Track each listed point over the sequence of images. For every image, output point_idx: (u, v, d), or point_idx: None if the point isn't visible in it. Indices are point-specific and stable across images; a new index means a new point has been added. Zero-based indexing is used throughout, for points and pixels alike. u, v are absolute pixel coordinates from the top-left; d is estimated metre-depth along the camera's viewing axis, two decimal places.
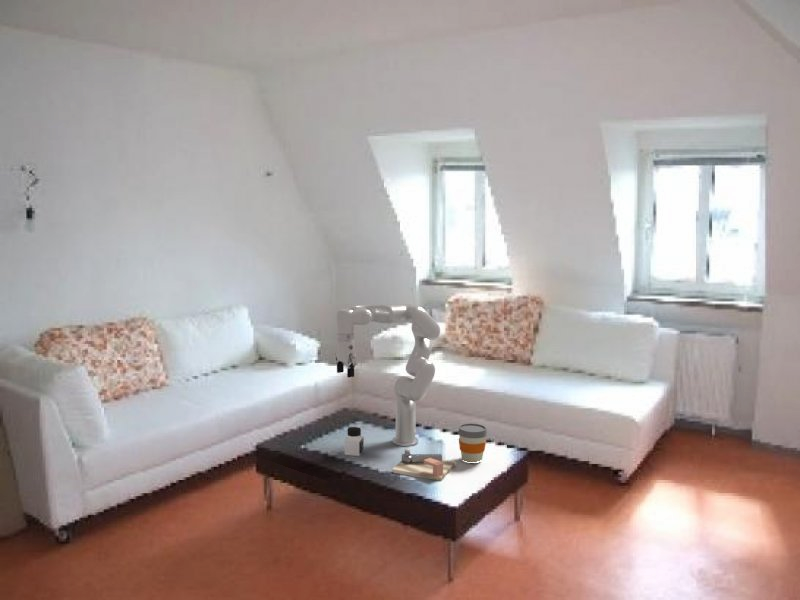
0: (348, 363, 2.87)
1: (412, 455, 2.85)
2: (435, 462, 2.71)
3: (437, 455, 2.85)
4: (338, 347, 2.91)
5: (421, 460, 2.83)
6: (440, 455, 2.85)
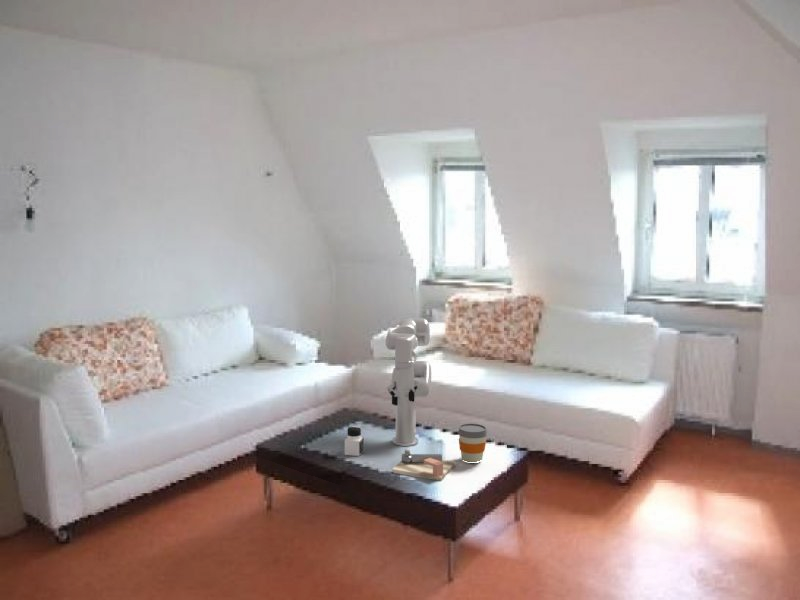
0: (413, 388, 2.91)
1: (412, 455, 2.85)
2: (435, 462, 2.71)
3: (437, 455, 2.85)
4: (403, 377, 2.85)
5: (421, 460, 2.83)
6: (440, 455, 2.85)
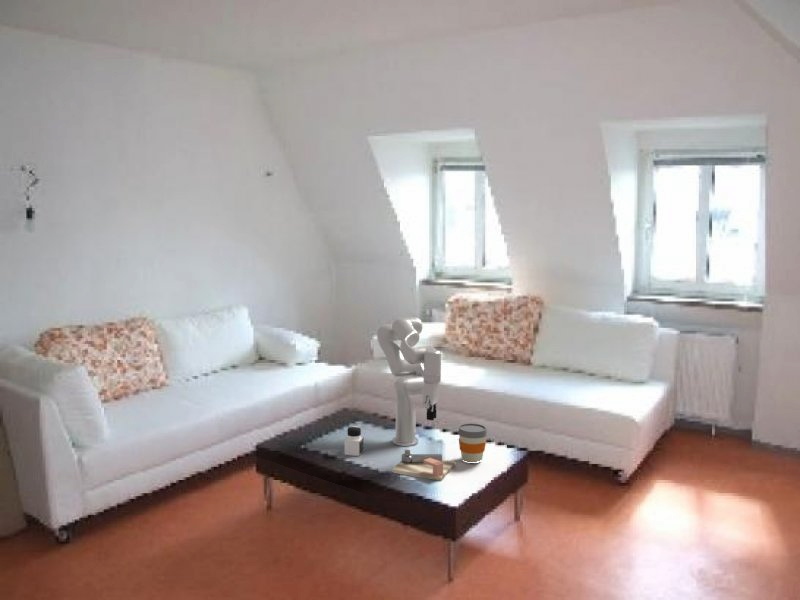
0: (436, 403, 2.90)
1: (412, 455, 2.85)
2: (435, 462, 2.71)
3: (437, 455, 2.85)
4: (435, 390, 2.85)
5: (421, 460, 2.83)
6: (440, 455, 2.85)
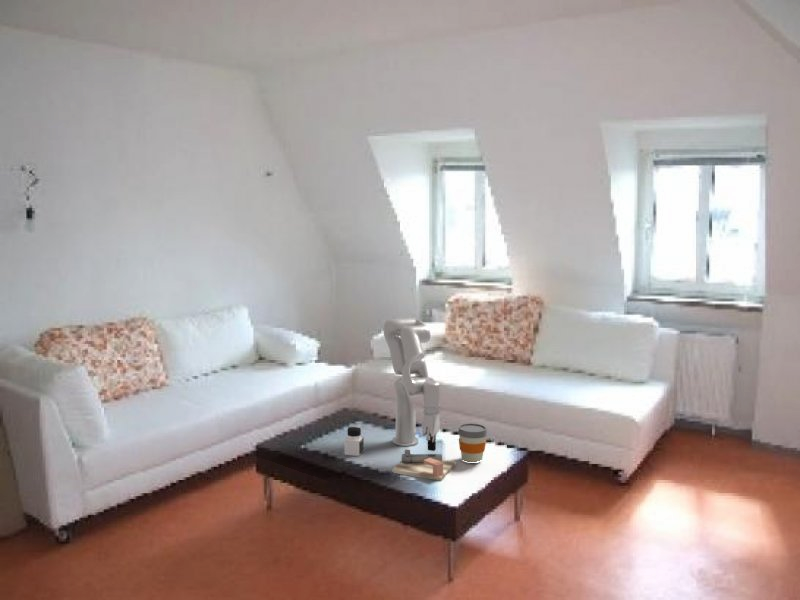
0: (435, 435, 2.91)
1: (412, 455, 2.85)
2: (435, 462, 2.71)
3: (437, 455, 2.85)
4: (435, 422, 2.86)
5: (421, 460, 2.83)
6: (440, 455, 2.85)
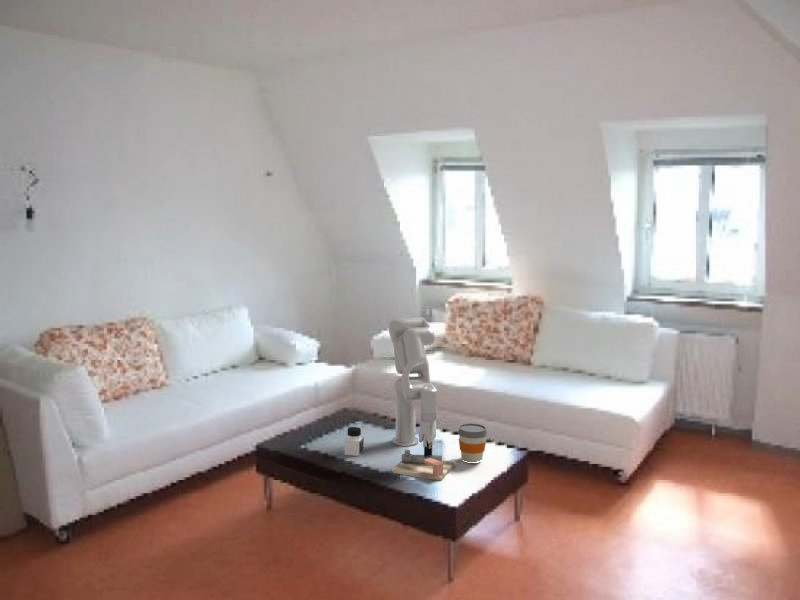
0: (432, 441, 2.88)
1: (412, 455, 2.84)
2: (435, 462, 2.71)
3: (437, 456, 2.83)
4: (432, 428, 2.83)
5: (421, 461, 2.83)
6: (440, 456, 2.83)
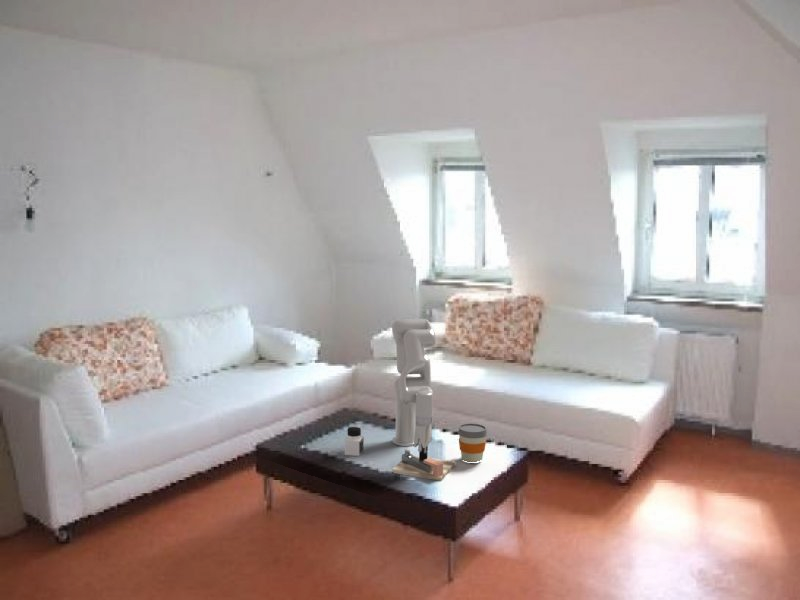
0: (427, 446, 2.82)
1: (411, 456, 2.83)
2: (435, 462, 2.71)
3: None
4: (427, 433, 2.77)
5: (414, 464, 2.79)
6: None
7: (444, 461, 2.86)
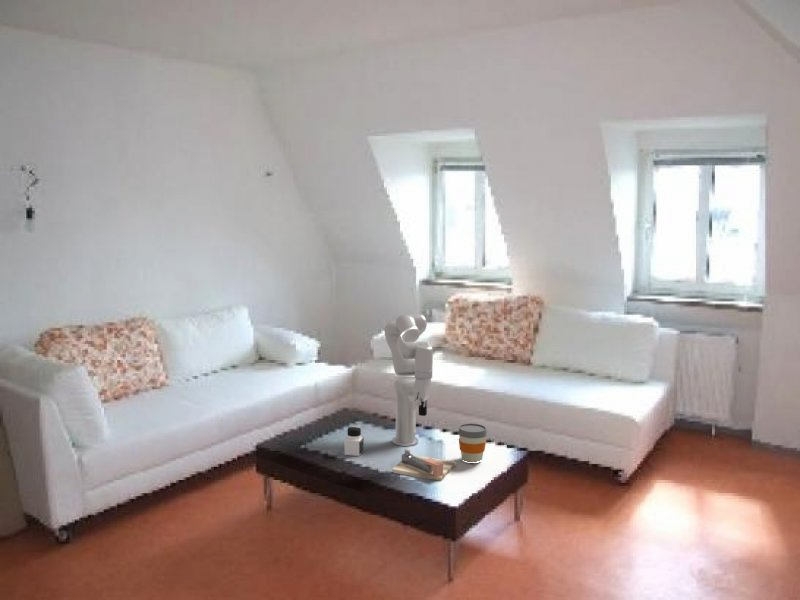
0: None
1: (411, 456, 2.83)
2: (435, 462, 2.71)
3: None
4: (427, 386, 2.80)
5: (414, 464, 2.79)
6: None
7: (444, 461, 2.86)
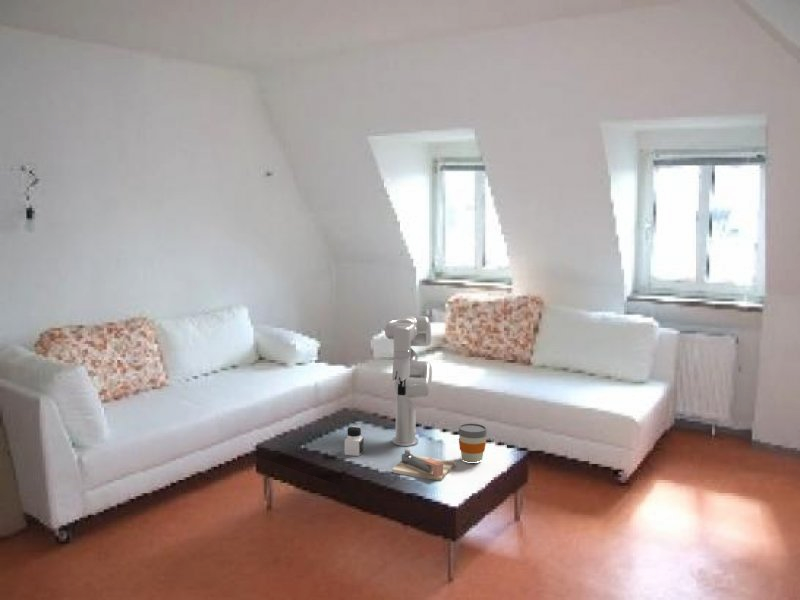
0: (406, 380, 2.91)
1: (411, 456, 2.83)
2: (435, 462, 2.71)
3: None
4: (405, 366, 2.86)
5: (414, 464, 2.79)
6: None
7: (444, 461, 2.86)
